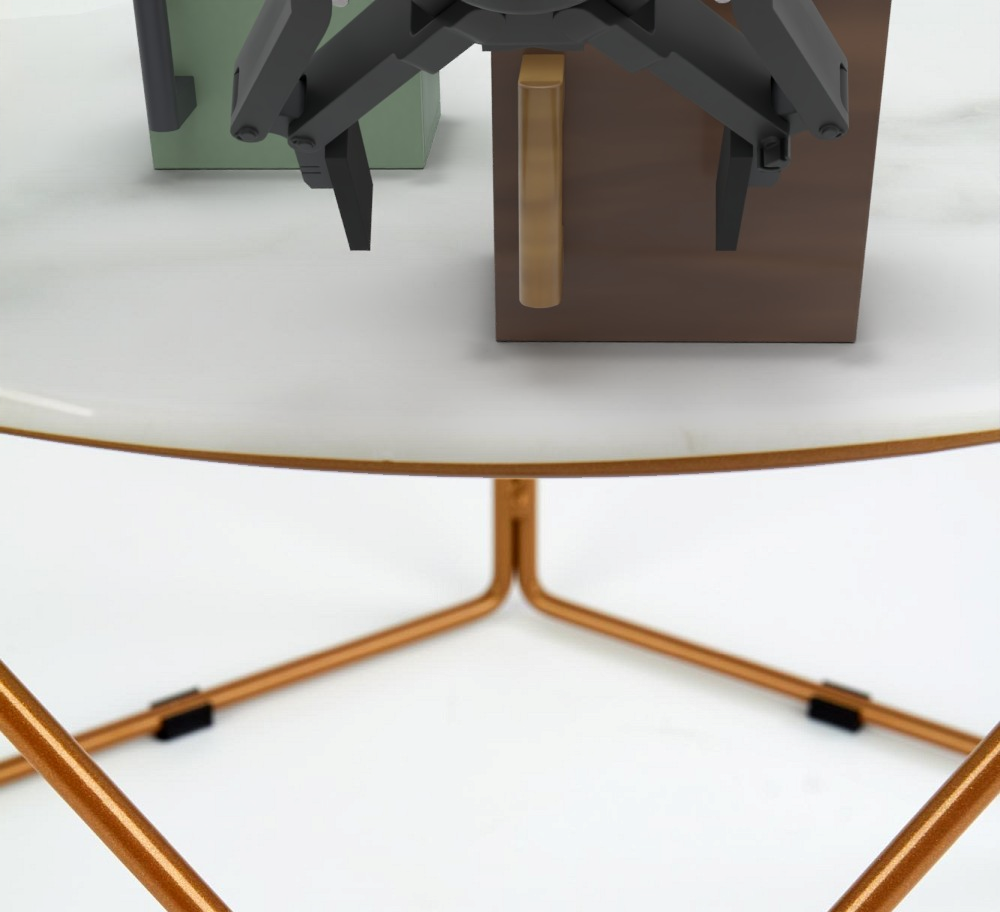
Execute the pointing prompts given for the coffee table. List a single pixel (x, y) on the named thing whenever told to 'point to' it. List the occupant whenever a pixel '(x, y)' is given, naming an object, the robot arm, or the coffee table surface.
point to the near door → (673, 204)
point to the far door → (209, 82)
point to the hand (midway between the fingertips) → (542, 218)
